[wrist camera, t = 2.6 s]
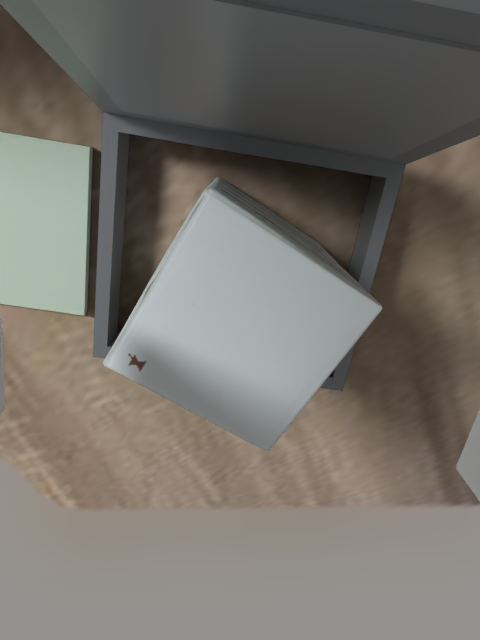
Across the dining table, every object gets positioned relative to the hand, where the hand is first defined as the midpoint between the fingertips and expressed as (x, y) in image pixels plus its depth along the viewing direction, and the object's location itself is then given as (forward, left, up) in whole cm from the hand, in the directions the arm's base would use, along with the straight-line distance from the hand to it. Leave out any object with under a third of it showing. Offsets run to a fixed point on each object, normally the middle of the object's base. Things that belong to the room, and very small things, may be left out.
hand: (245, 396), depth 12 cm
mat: (-14, 0, -16) cm, 21 cm away
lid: (0, +8, -7) cm, 11 cm away
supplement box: (0, 0, -16) cm, 16 cm away
